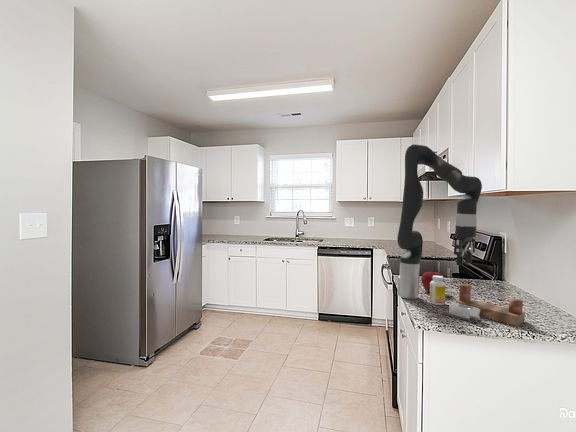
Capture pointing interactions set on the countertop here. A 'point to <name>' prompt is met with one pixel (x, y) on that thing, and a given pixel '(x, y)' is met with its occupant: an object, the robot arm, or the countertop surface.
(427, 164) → the robot arm
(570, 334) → the countertop surface
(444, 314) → the rubber mat
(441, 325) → the countertop surface
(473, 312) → the lever cap
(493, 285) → the countertop surface
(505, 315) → the plane body
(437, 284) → the supplement bottle
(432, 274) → the apple
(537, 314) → the countertop surface
